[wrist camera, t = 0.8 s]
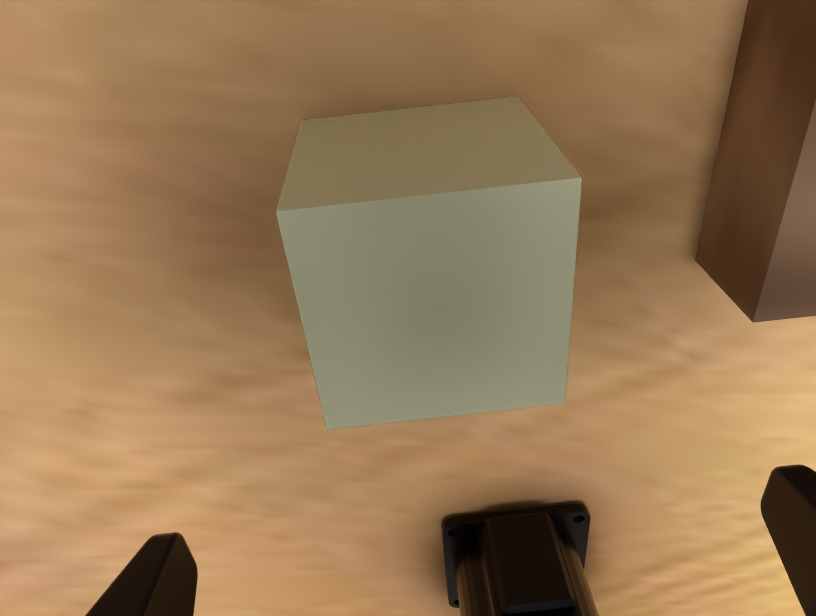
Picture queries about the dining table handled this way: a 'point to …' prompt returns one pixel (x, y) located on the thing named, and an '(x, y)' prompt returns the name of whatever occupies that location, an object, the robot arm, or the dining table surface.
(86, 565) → the dining table surface
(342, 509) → the dining table surface
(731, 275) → the walnut box
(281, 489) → the dining table surface
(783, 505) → the robot arm
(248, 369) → the dining table surface
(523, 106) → the sage cube
